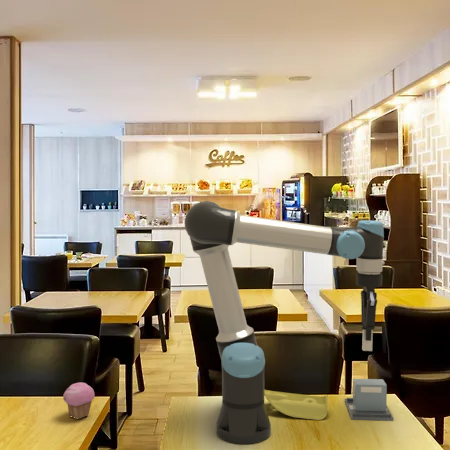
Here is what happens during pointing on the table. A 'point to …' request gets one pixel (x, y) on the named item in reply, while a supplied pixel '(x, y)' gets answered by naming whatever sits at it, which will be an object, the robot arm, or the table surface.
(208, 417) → the table surface
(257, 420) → the robot arm
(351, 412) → the rail mount
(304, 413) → the plastic component
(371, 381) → the block
